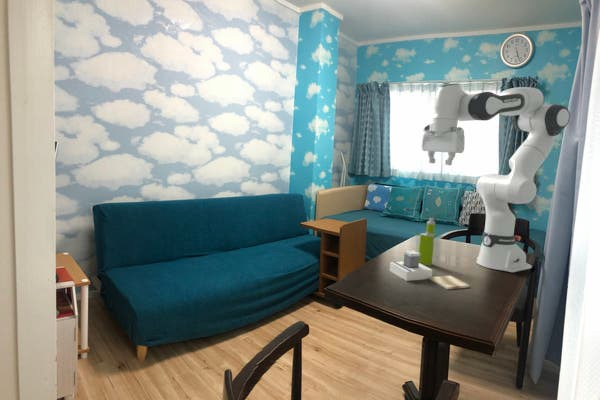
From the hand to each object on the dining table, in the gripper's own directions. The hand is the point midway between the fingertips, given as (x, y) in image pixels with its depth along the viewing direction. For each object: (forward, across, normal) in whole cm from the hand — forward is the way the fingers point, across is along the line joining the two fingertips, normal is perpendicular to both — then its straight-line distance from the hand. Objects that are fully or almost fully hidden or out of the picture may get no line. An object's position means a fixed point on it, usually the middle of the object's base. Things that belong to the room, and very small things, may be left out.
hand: (439, 164), depth 146 cm
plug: (+43, -2, +10) cm, 44 cm away
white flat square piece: (+43, -2, +10) cm, 44 cm away
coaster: (+43, -13, 0) cm, 45 cm away
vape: (+43, +9, -6) cm, 44 cm away
